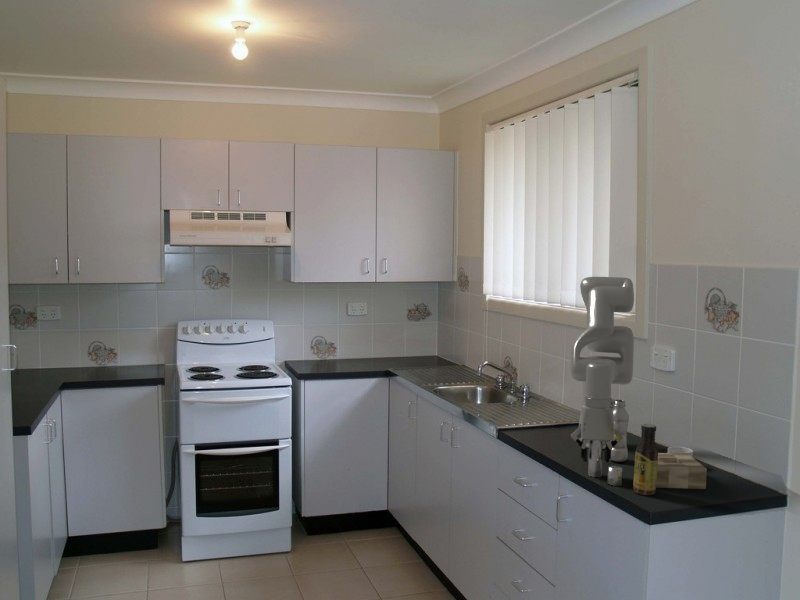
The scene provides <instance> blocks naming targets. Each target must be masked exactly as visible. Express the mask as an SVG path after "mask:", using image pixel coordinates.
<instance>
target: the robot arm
mask: <svg viewBox="0 0 800 600" xmlns="http://www.w3.org/2000/svg"><path fill="white" fill-rule="evenodd" d="M579 288H580V289H579V290H580V295H581V297H582V300H583V302H584V305H585V309H586V327H585V330H584V331H583V332H581V333H580V334H579V335H578V336H577V338H576V339H575V341H574V343H573V345H572V348H571V354H570V355H571V357H570V376H571V377H572V379H573V380H574V381H576V382H582V403H581V404H582V406H581V410H580V415H579V422H578V427H577V428H576V429H575V430H574V431H573V432H571V434H570V438H571V439H573V441H575V442H576V444H577V445H578V446H579V447H580V458H581V459H582V461H583V462H584V463H585V462H587V461H588V460H587V458H588V455H587V454H588V449H589V440H602V441H603V450H604V456H603V460H604V461H605V462H606V463H609V462H610V459H611V449H612V448H613V447H614V446H615V445H616V444H617V443H618V442H619V441H620V440H621V439H622V436H621V435H620V434H619V433H618V432H617V431H616V430H615V429H614V416H613V409H614V408H613V407H612V405H614V404H615V400H616V399H613V398H611V397H612V385H622V386H623V385H628V384H629V385H630V383H631V382H632V380H633V374H634V353H635V352H634V350H635V340H634V339H635V337H634V332H633V330H632V329H631V328H630V327H629V326H622V325H614V324H615V323H614V322H615V313H629V312H631V311H632V310H633V308H634V303H635V292H634V291H635V289H634V283H633V281H632V280H631V278H629V277H619V276H618V277H616V276H615V277H614V276H588V277H584V278H583V279H582V280H581V281H580V287H579ZM585 347H587V349H588V350H589V351H590V352H594V353H595V352H596V353H609V354H618V355H619V357H618V356H608V355H607V356H605V355H590V356H586V357H585V356H583V357H581V352H582V350H583V349H584V348H585ZM614 434H615V436H616V437H615V439H613V438H614ZM578 435H579V438H578ZM612 439H613V440H612ZM610 440H612V441H611V442H610Z"/></svg>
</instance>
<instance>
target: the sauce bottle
mask: <svg viewBox="0 0 800 600" xmlns="http://www.w3.org/2000/svg"><path fill="white" fill-rule="evenodd" d="M640 428H641V436H640V440H639V442H638V445H637V447H636V450H635V455H634V469H633V482H632V483H633V484H632V485H633V491H634V493H636V494H639V495H641V496H652V495H653V496H654V495H655V493H656V489H657V488H656V481H657V467H658V453H659V447H658V446H657V444H656V431H657V425H655V424H652V423H642V424H641V426H640Z"/></svg>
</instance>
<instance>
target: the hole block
mask: <svg viewBox="0 0 800 600" xmlns="http://www.w3.org/2000/svg"><path fill="white" fill-rule="evenodd" d="M707 469H708V468H707V467H705V466H704V465H702V463H700V462H699V461H697V460H696V459H695V457H694V456H693V457H691V456H690V455H689V454H677V453H668V452H658V467H657V481H656V489H657V488H659V489H661V488H663V489H664V488H665V489H693V490H694V489H695V490H696V489H698V490H706V489H707V471H708V470H707Z"/></svg>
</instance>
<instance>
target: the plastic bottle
mask: <svg viewBox="0 0 800 600" xmlns="http://www.w3.org/2000/svg"><path fill="white" fill-rule="evenodd" d="M614 400H615V404H613V408H612V409H613V416H614V429H615V430H616V431H617V432H618V433H619V434H620V435H621V436H622V439H621V440H620V441H619V442H618V443H617V444H616V445H615V446H614V447H613V448H612V449H611V459H609V461H613V462H618V463H619V462H625V461H626V460H627V459H628V455H629V454H628V447H627V445H628V444H627V443H628V441H627V435H628V434H627V433H628V426H629V423H630V422H629V421H630V416H629V413H628V411H627V409H625V408H626V400H623V399H614ZM615 437H616V436H615V434H614V438H613V439H615ZM613 439H612V440H613ZM612 440H610V442H611V441H612Z"/></svg>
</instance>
